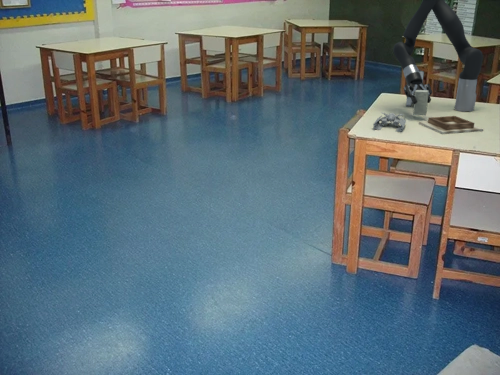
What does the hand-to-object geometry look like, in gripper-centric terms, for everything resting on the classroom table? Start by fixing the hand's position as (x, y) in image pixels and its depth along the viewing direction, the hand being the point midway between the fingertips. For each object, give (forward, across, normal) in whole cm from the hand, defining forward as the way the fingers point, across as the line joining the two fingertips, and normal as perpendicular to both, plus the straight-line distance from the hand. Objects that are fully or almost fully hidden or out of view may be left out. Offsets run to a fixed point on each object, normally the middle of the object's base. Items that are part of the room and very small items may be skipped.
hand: (422, 102), depth 265 cm
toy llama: (-16, +15, +30) cm, 37 cm away
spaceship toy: (+13, -22, 0) cm, 26 cm away
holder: (+18, +6, -6) cm, 20 cm away
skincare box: (+4, 0, +6) cm, 7 cm away
